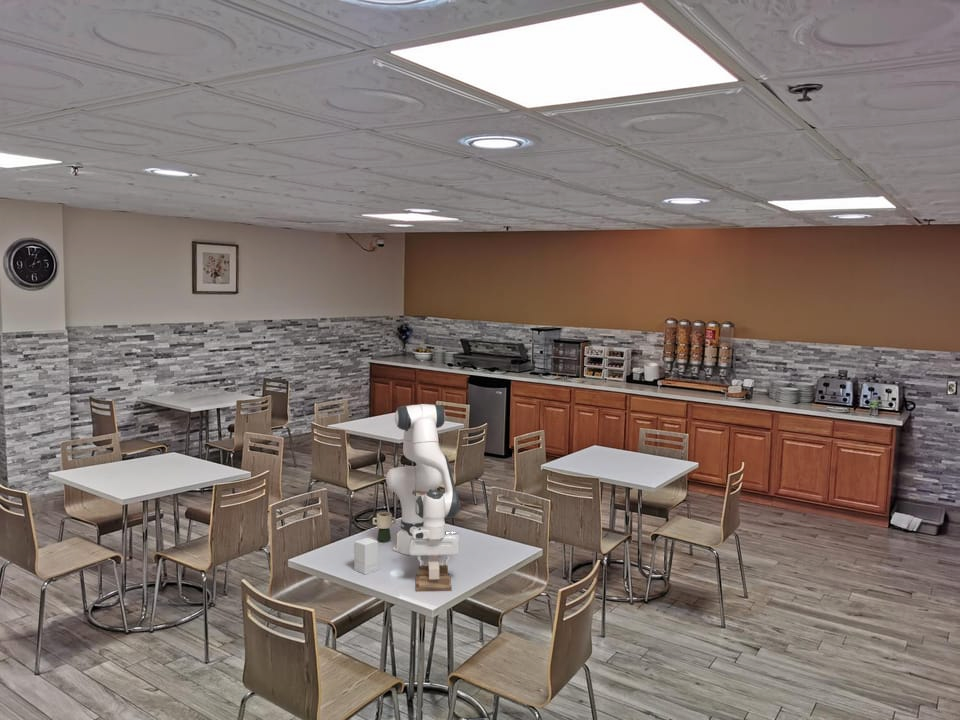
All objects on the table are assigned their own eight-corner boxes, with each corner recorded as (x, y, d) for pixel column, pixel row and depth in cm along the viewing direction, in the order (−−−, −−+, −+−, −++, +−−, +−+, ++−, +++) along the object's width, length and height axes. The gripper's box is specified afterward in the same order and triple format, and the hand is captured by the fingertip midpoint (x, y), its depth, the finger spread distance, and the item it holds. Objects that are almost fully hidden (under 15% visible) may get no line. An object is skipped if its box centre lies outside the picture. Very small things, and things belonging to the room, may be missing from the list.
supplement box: (378, 570, 300) (378, 541, 299) (364, 574, 295) (365, 545, 294) (367, 565, 305) (367, 537, 304) (353, 570, 300) (353, 541, 299)
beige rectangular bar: (428, 564, 294) (428, 555, 294) (437, 564, 294) (437, 555, 294) (429, 579, 278) (429, 569, 278) (439, 579, 279) (439, 569, 278)
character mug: (395, 537, 343) (395, 511, 342) (395, 542, 336) (395, 515, 335) (372, 538, 341) (372, 512, 340) (372, 543, 334) (372, 516, 333)
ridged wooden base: (415, 576, 294) (416, 565, 293) (449, 576, 295) (449, 564, 295) (416, 591, 279) (416, 579, 278) (451, 590, 280) (451, 578, 280)
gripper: (459, 529, 289) (458, 562, 290) (409, 529, 287) (408, 562, 288) (460, 534, 283) (459, 567, 284) (408, 534, 281) (408, 568, 282)
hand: (433, 565), depth 286 cm, fingers open, 8 cm apart
